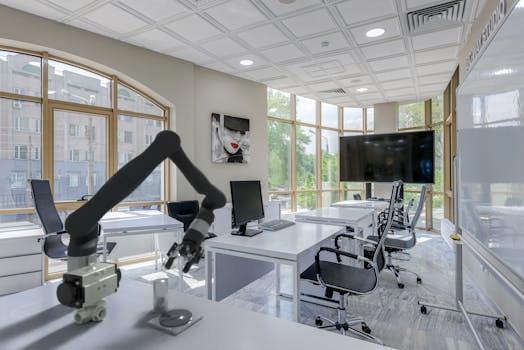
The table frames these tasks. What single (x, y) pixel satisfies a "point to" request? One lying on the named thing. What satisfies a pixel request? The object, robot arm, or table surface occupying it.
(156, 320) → the flange
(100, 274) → the ball valve
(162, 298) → the grey cylinder
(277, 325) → the table surface
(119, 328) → the table surface
